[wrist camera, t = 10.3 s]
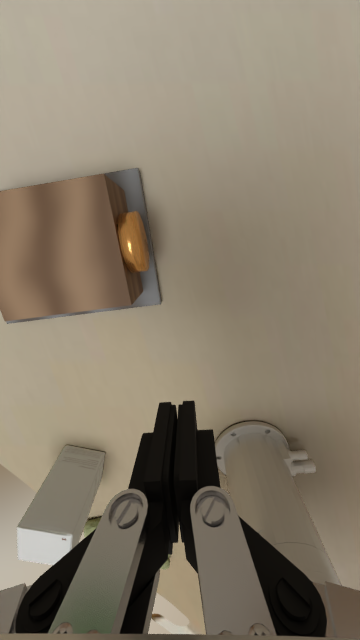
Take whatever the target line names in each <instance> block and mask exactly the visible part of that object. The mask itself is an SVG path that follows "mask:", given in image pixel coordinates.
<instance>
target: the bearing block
mask: <svg viewBox="0 0 360 640" xmlns="http://www.w3.org/2000/svg"><path fill="white" fill-rule="evenodd" d="M133 211H138V213H139V214H140V216H141V219H142V222H143V225H144V229H145V233H146V238H147V243H148V250H149V270H148V271H143V272H136V273H132V272H130V270H129V269H128V267H127V265H126V263H125V260H124V259H123V254H122V250H121V245H120V240H119V235H118V217H119V214H121V213H127V212H133ZM161 302H162V301H161V295H160V290H159V284H158V278H157V272H156V266H155V260H154V254H153V248H152V242H151V236H150V230H149V224H148V218H147V212H146V206H145V200H144V194H143V188H142V182H141V176H140V171H139V169H138V168H135V169H129V170H123V171H117V172H111V173H105V174H99V175H93V176H87V177H81V178H75V179H69V180H64V181H58V182H52V183H46V184H40V185H34V186H28V187H22V188H16V189H10V190H5V191H0V310H1V313H2V315H3V318H4V320H5V321H6V322H7V324H9V323H17V322H25V321H32V320H40V319H48V318H56V317H64V316H72V315H79V314H87V313H95V312H103V311H111V310H119V309H126V308H134V307H142V306H150V305H158V304H161Z"/></svg>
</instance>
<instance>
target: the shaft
mask: <svg viewBox="0 0 360 640" xmlns="http://www.w3.org/2000/svg"><path fill="white" fill-rule="evenodd" d="M118 235H119V240H120V245H121V250H122V254H123V259H124V260H125V263H126V265H127V267H128V269H129V270H130V272H132V273H136V272H143V271H148V270H149V250H148V243H147V238H146V233H145V229H144V225H143V222H142V219H141V216H140V214H139V213H138V211H133V212H127V213H121V214H119V217H118Z"/></svg>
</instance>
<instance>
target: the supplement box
mask: <svg viewBox="0 0 360 640" xmlns="http://www.w3.org/2000/svg"><path fill="white" fill-rule="evenodd" d="M104 458H105V452H101V451H96V450H91V449H86V448H81V447H75V446H70V445H66V446H65V447H64V448H63V450H62V452H61V453H60V455H59V457H58V458H57V460H56V462H55V464H54V465H53V467H52V469H51V470H50V472H49V474H48V475H47V477H46V479H45V481H44V482H43V484H42V486H41V487H40V489H39V491H38V492H37V494H36V496H35V498H34V499H33V501H32V503H31V504H30V506H29V508H28V509H27V511H26V513H25V515H24V516H23V518H22V520H21V521H20V523H19V524H18V526H17V545H18V546H17V548H18V560H23V561H29V562H35V563H41V564H49V565H54V564H55V563H56V562H58V561H59V560H60V559H61V558H62V557H63V556H65V555H66V554H67V553H68V552H69V551H70V550H72V549H73V548H74V547H75V546H76V545H77V544H78V543H79V540H80V537H81V535H82V532H83V529H84V526H85V523H86V521H87V518H88V515H89V512H90V509H91V507H92V504H93V501H94V498H95V495H96V493H97V490H98V487H99V485H100V482H101V478H102V472H103V465H104Z"/></svg>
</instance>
